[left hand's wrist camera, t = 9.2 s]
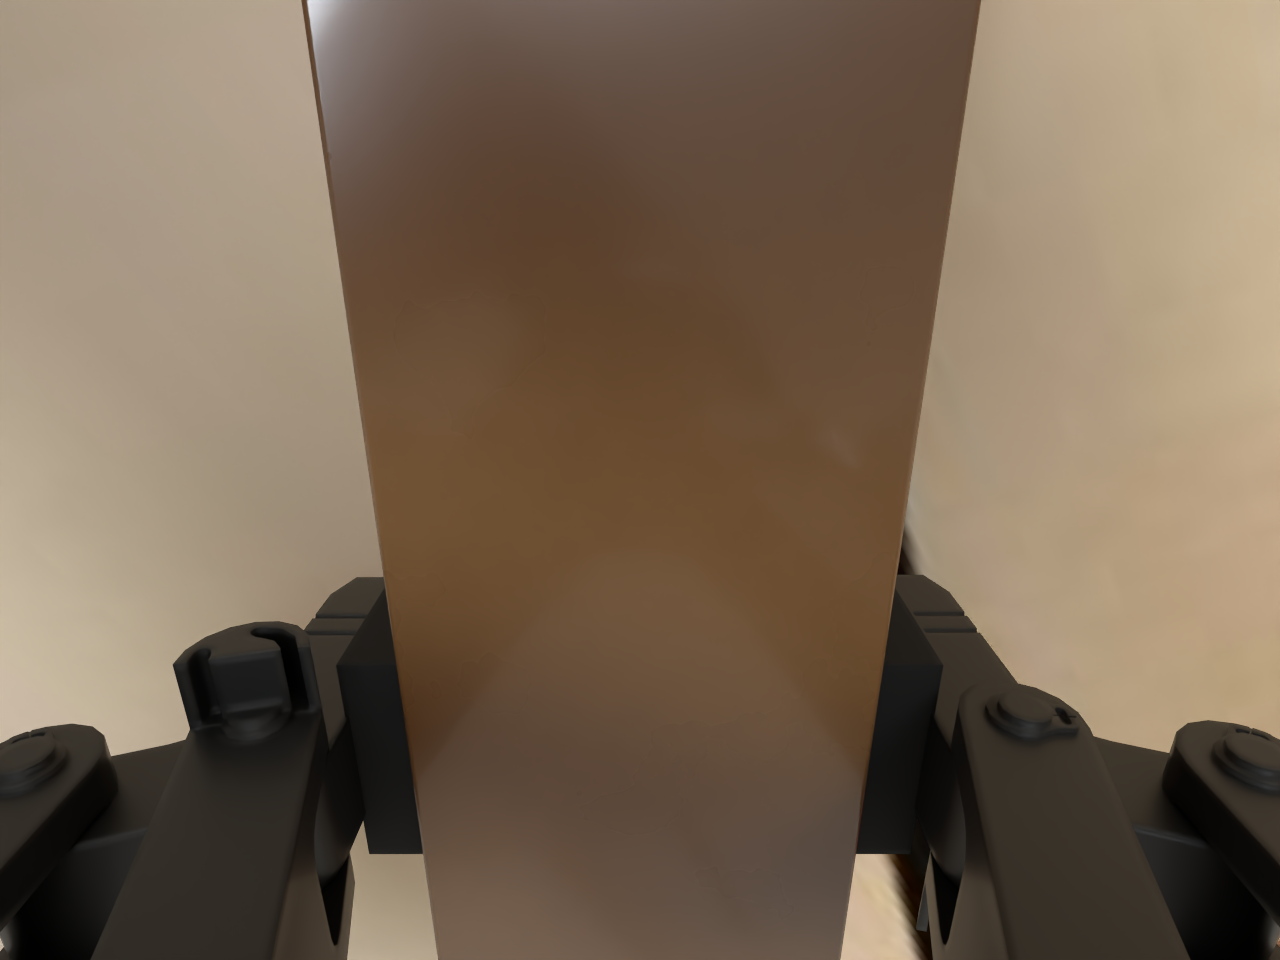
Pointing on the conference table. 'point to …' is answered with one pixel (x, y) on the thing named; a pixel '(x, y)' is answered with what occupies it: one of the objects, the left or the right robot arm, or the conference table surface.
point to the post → (640, 438)
